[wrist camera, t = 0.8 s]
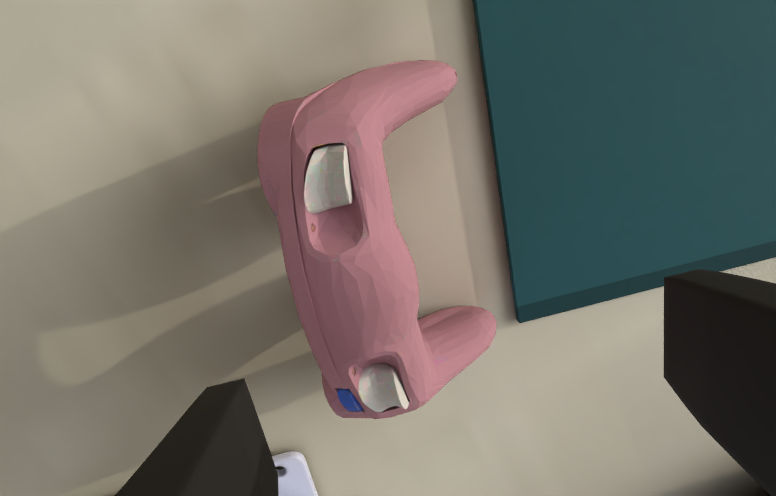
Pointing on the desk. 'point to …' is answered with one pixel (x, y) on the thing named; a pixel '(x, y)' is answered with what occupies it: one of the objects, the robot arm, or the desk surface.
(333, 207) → the video game controller
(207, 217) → the desk surface
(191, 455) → the robot arm
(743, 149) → the teal board
